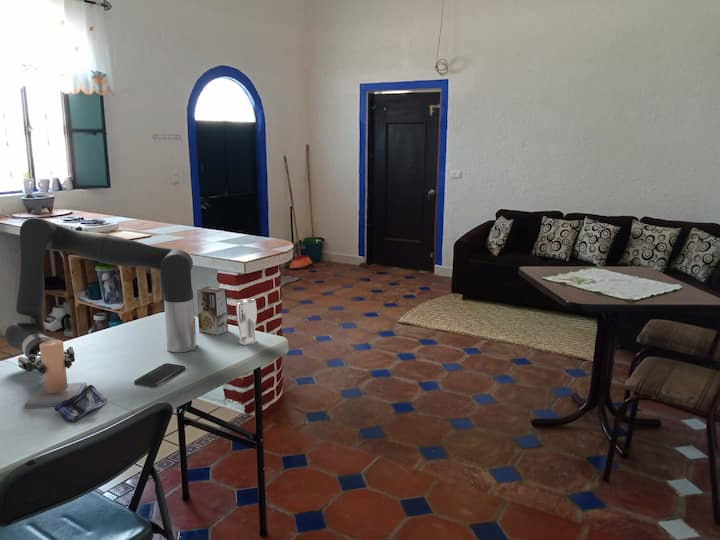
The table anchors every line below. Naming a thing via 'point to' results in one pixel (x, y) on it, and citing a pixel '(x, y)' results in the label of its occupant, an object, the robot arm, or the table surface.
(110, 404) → the table surface
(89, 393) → the snack package
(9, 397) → the table surface
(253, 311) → the beer glass
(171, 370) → the phone
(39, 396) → the coaster
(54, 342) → the peach tall cylinder
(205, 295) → the coffee box
